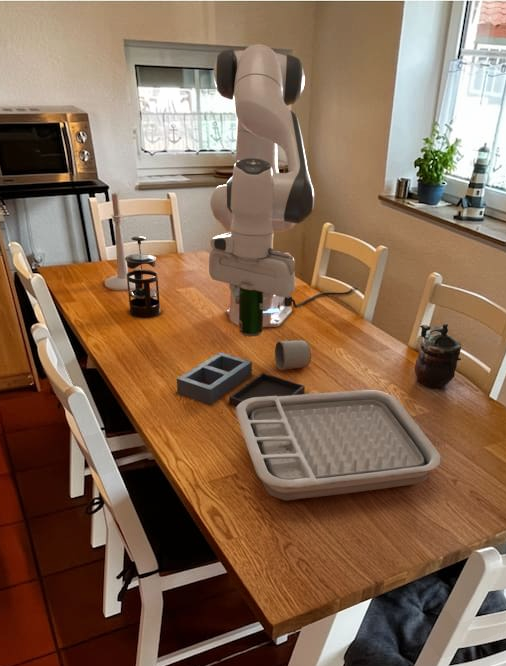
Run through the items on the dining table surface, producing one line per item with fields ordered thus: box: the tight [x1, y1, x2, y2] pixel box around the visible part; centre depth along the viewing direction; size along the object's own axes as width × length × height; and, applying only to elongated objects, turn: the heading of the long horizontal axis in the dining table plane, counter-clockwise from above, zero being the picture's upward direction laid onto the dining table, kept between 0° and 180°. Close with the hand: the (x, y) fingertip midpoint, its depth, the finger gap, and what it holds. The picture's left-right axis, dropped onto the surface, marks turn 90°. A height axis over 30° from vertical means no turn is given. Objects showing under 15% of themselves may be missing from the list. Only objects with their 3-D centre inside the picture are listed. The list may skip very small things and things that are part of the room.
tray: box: [228, 372, 306, 408], centre depth 142 cm, size 15×12×2 cm
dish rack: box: [235, 389, 442, 501], centre depth 121 cm, size 32×37×8 cm
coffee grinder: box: [414, 322, 462, 389], centre depth 151 cm, size 13×15×18 cm
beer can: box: [238, 282, 264, 338], centre depth 131 cm, size 5×5×12 cm
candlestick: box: [104, 192, 136, 292], centre depth 194 cm, size 13×13×30 cm
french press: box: [125, 235, 162, 319], centre depth 177 cm, size 12×9×23 cm
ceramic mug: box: [274, 339, 312, 371], centre depth 157 cm, size 11×8×8 cm
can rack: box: [176, 351, 253, 405], centre depth 146 cm, size 18×10×4 cm, turn 153°
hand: (251, 306), depth 131 cm, fingers closed on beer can, 5 cm apart
